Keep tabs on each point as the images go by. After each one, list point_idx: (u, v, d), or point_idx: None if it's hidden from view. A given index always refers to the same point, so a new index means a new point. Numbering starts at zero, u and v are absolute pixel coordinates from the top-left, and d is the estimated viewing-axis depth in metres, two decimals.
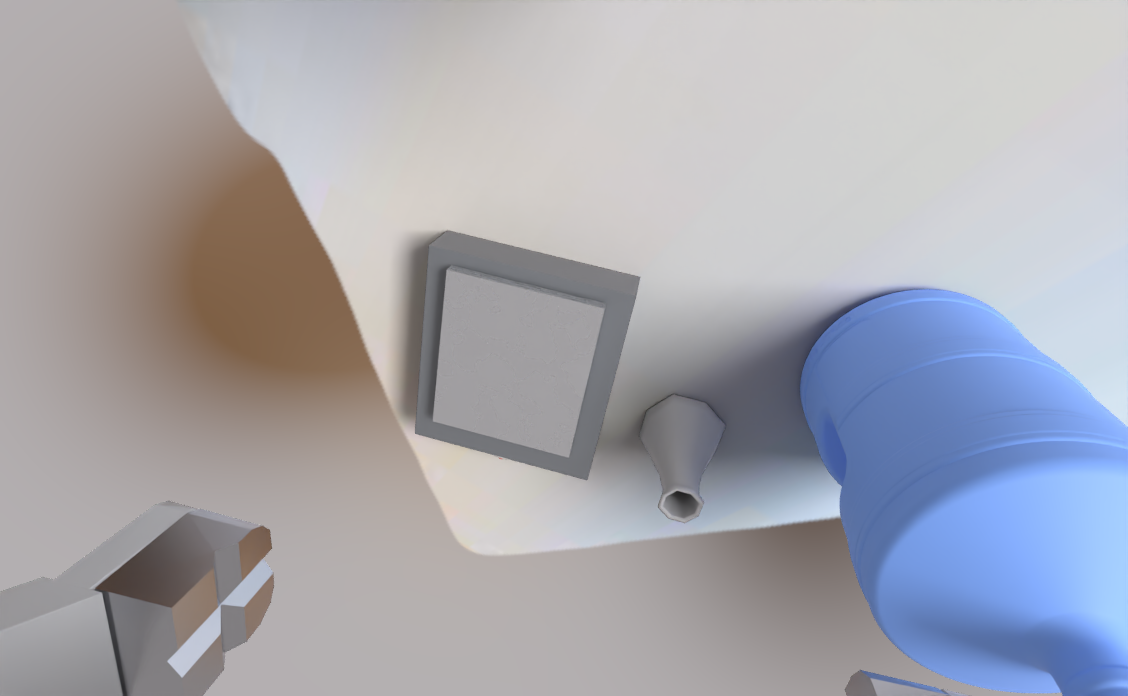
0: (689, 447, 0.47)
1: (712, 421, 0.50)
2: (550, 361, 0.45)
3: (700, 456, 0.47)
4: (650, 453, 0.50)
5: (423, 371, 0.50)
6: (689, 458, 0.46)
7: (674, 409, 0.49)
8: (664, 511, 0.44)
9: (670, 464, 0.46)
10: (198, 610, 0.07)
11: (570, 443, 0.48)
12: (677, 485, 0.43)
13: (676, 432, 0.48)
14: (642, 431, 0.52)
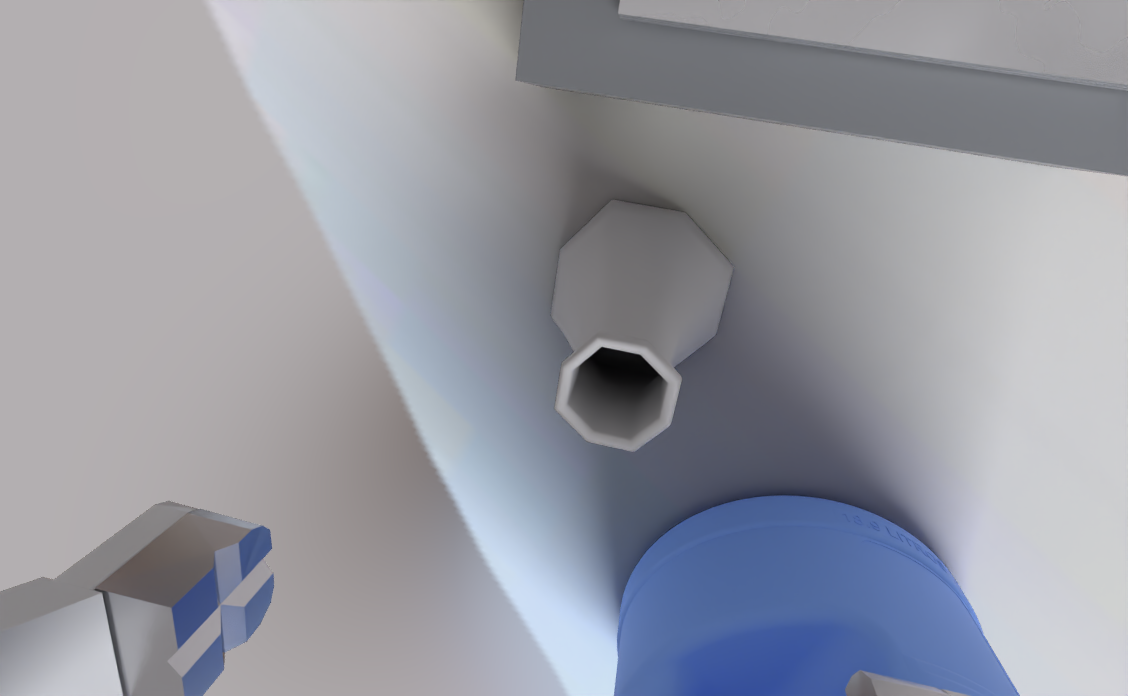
0: (684, 347, 0.19)
1: None
2: None
3: None
4: (619, 245, 0.20)
5: None
6: (674, 359, 0.18)
7: (722, 281, 0.22)
8: (586, 354, 0.15)
9: (662, 320, 0.18)
10: (198, 610, 0.07)
11: (673, 15, 0.16)
12: None
13: (701, 307, 0.20)
14: (633, 208, 0.22)
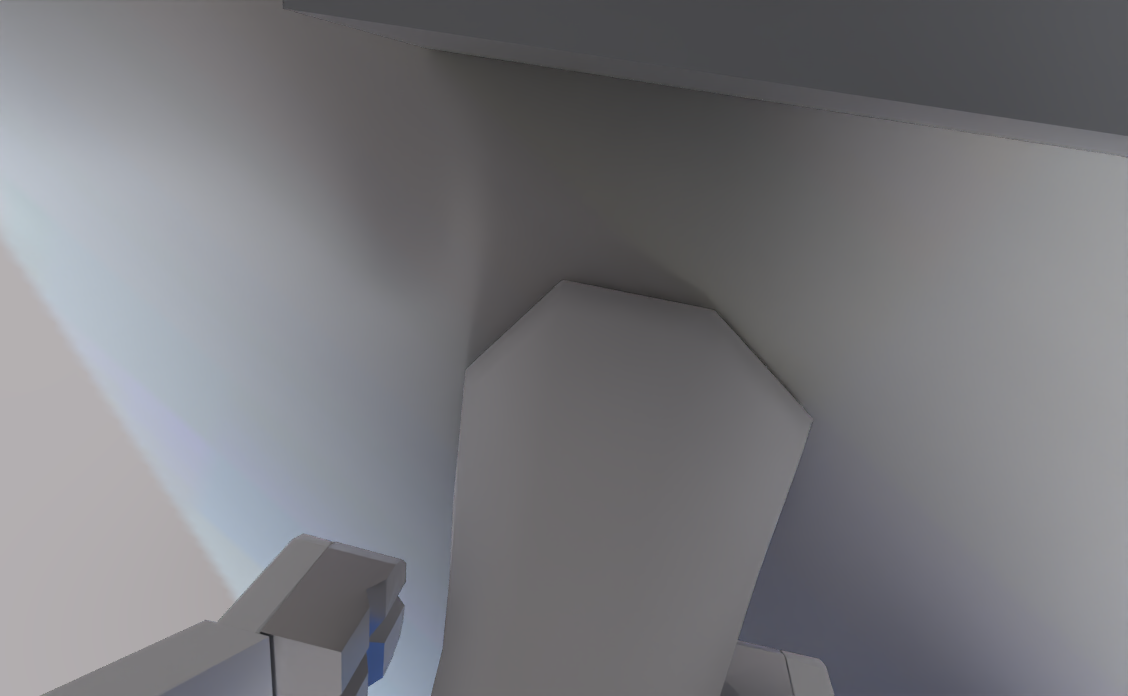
0: None
1: None
2: None
3: None
4: (561, 411, 0.09)
5: None
6: None
7: (796, 467, 0.10)
8: None
9: None
10: (356, 651, 0.07)
11: None
12: None
13: (759, 571, 0.08)
14: (604, 302, 0.11)
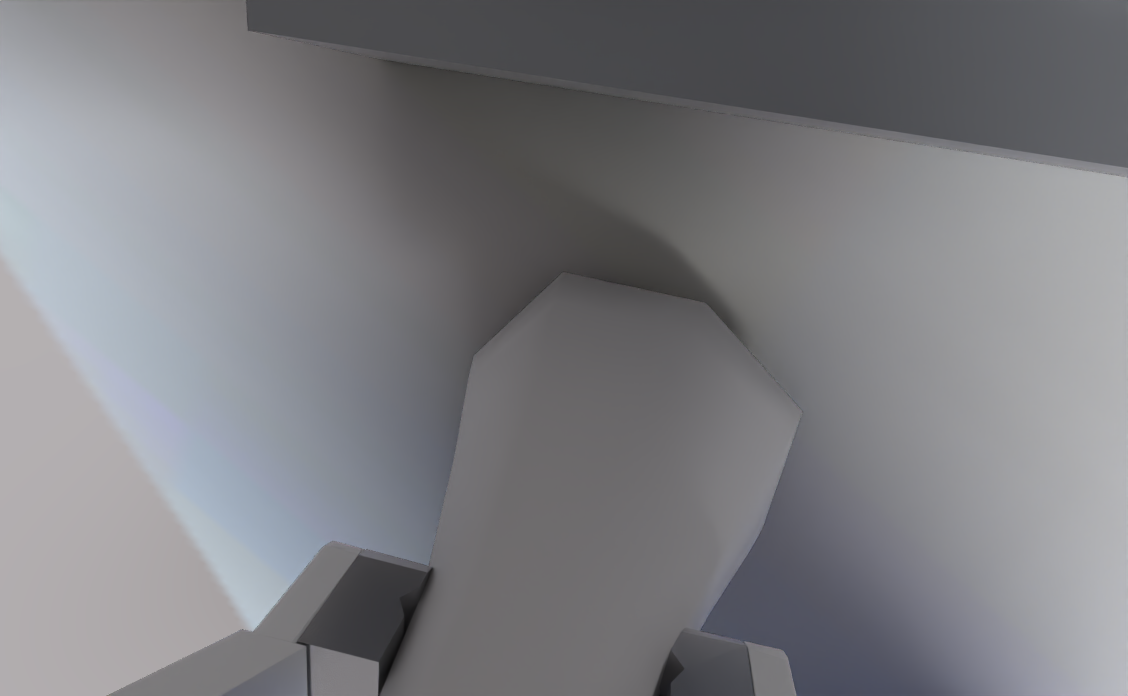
0: None
1: None
2: None
3: None
4: (547, 389, 0.09)
5: None
6: None
7: (778, 455, 0.10)
8: None
9: (605, 651, 0.06)
10: (391, 660, 0.07)
11: None
12: None
13: (727, 546, 0.09)
14: (600, 293, 0.11)
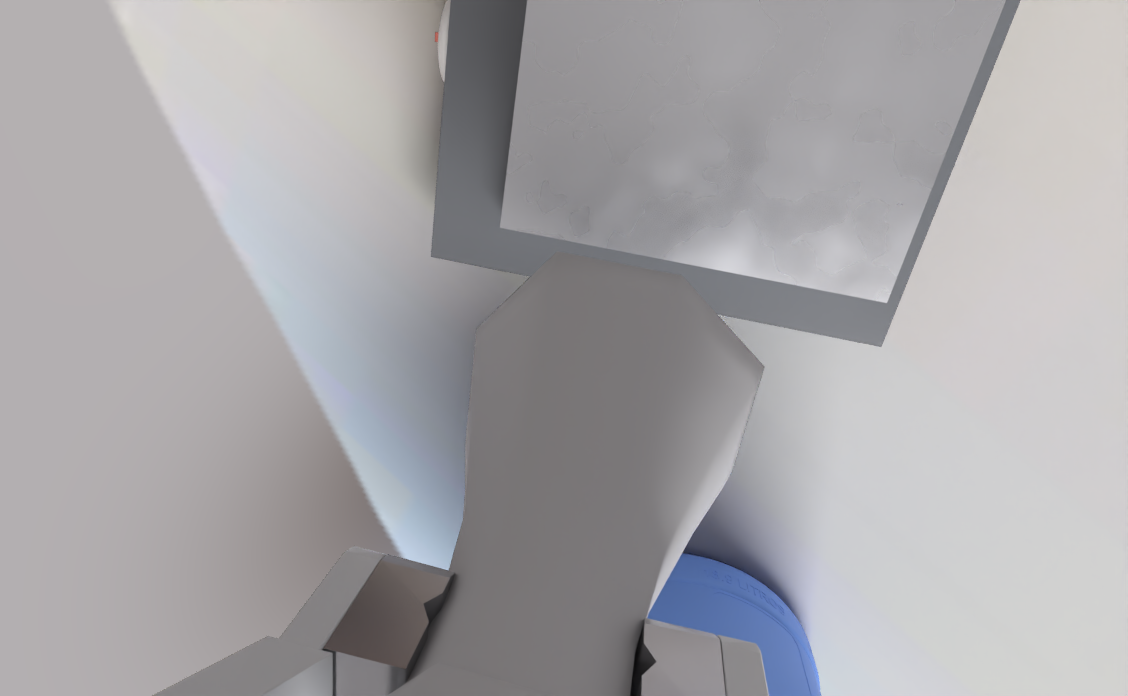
0: (675, 555, 0.10)
1: None
2: (757, 184, 0.20)
3: None
4: (555, 347, 0.11)
5: None
6: (652, 600, 0.09)
7: (746, 400, 0.12)
8: None
9: (621, 539, 0.08)
10: None
11: (539, 231, 0.21)
12: None
13: (708, 469, 0.10)
14: (591, 268, 0.13)
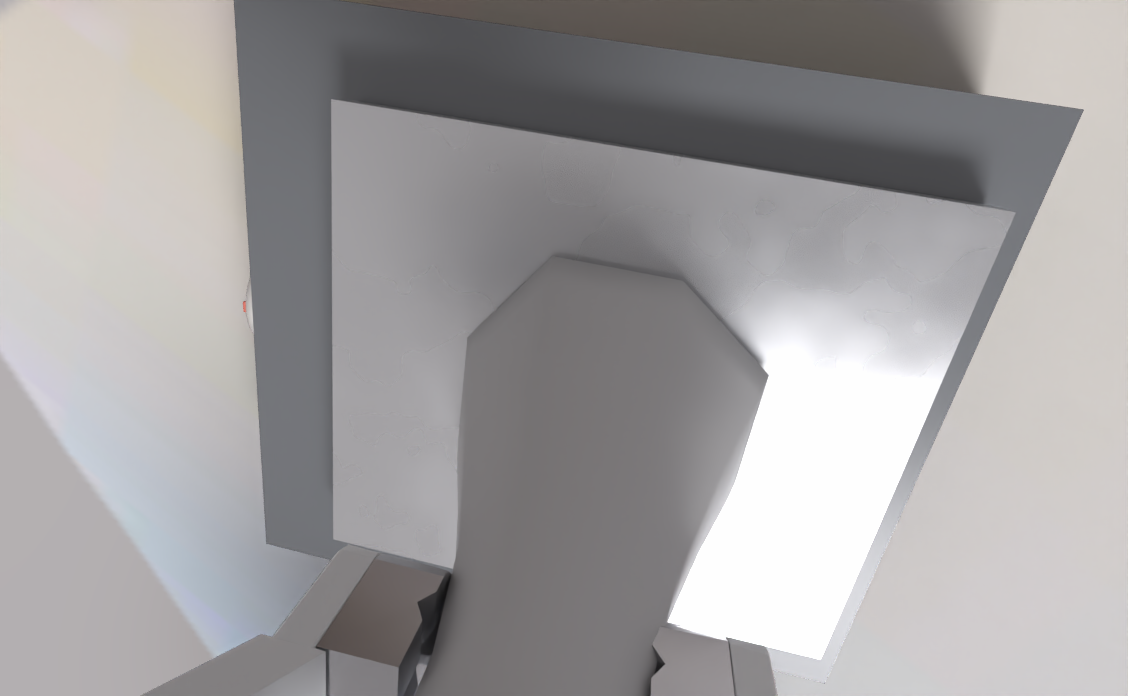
0: (683, 580, 0.09)
1: None
2: None
3: None
4: (553, 360, 0.10)
5: (521, 45, 0.13)
6: None
7: (752, 412, 0.12)
8: None
9: (630, 572, 0.08)
10: (409, 665, 0.07)
11: (381, 547, 0.17)
12: None
13: (716, 487, 0.10)
14: (588, 274, 0.12)
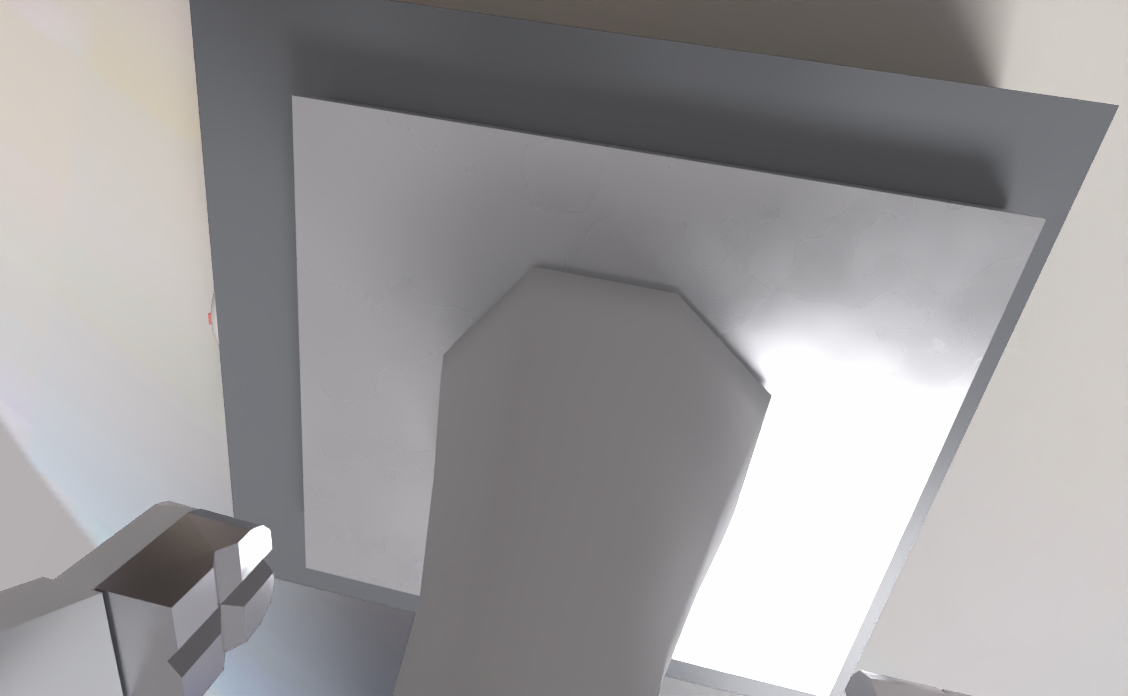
0: (677, 638, 0.08)
1: None
2: None
3: None
4: (530, 386, 0.09)
5: (501, 36, 0.12)
6: None
7: (753, 439, 0.11)
8: None
9: (614, 643, 0.07)
10: (198, 610, 0.07)
11: (357, 576, 0.16)
12: None
13: (714, 530, 0.09)
14: (573, 287, 0.11)
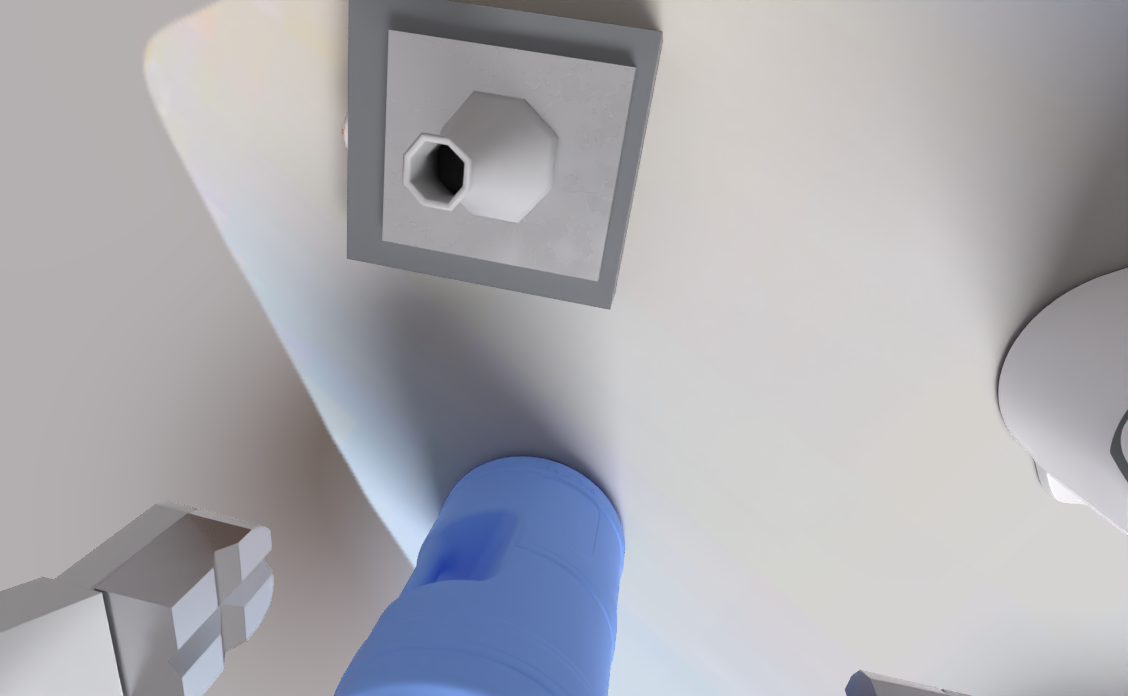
0: (506, 174, 0.30)
1: (528, 202, 0.34)
2: None
3: (494, 193, 0.30)
4: (467, 111, 0.30)
5: (462, 9, 0.33)
6: (494, 176, 0.29)
7: (544, 142, 0.32)
8: (416, 145, 0.25)
9: (481, 146, 0.28)
10: (198, 610, 0.07)
11: (404, 242, 0.37)
12: (473, 161, 0.25)
13: (520, 150, 0.30)
14: (486, 95, 0.33)
